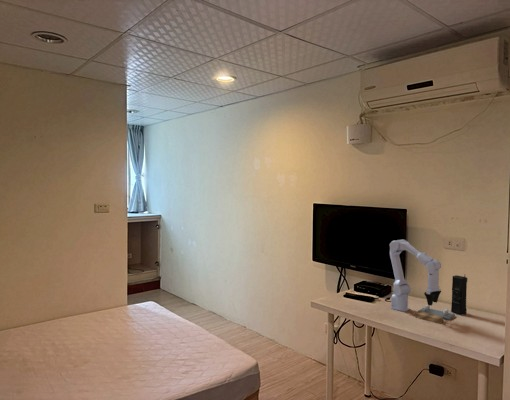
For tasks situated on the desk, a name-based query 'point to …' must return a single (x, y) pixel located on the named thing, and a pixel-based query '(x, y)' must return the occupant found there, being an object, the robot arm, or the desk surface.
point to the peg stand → (438, 312)
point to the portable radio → (459, 295)
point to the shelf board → (429, 317)
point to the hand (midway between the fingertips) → (432, 303)
